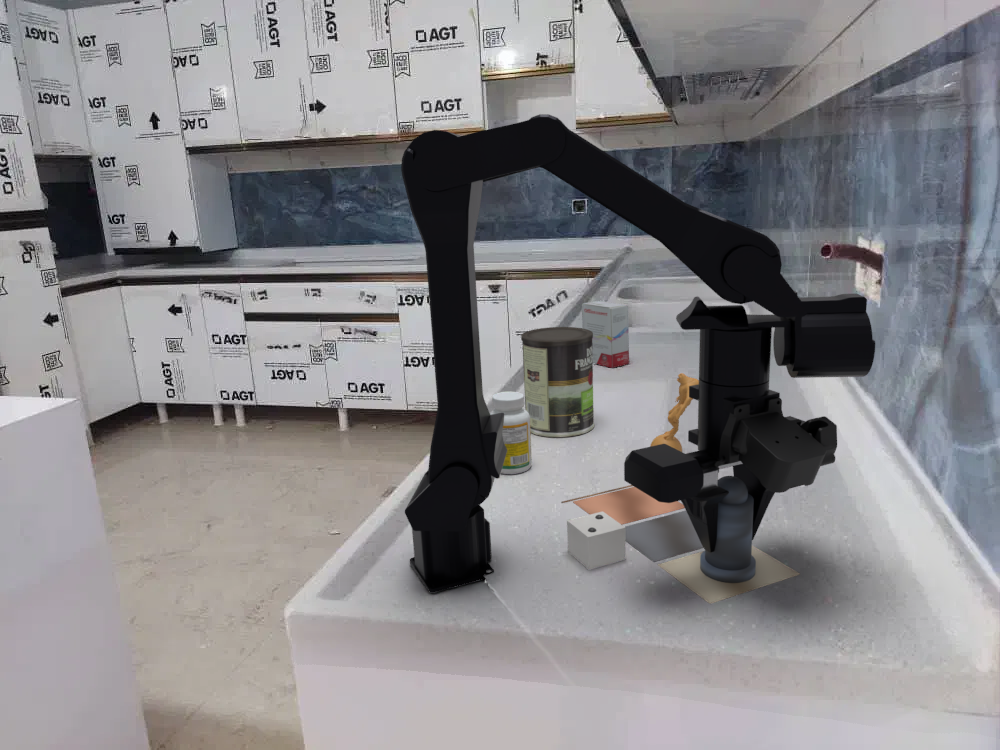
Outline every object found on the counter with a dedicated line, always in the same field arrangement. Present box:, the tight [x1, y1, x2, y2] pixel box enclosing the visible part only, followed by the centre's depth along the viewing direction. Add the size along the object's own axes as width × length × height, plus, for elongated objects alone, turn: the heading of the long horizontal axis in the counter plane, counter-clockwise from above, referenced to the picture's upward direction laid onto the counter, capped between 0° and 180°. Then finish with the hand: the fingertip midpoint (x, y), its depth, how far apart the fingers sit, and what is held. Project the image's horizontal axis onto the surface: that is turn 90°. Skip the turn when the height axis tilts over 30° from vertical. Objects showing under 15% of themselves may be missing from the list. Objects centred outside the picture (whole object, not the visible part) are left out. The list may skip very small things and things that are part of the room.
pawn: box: [700, 475, 756, 583], centre depth 66 cm, size 5×5×9 cm
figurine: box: [649, 372, 699, 452], centre depth 92 cm, size 8×6×12 cm
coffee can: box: [520, 326, 595, 438], centre depth 109 cm, size 10×10×14 cm
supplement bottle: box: [489, 391, 533, 475], centre depth 95 cm, size 5×5×10 cm
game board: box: [561, 484, 801, 605], centre depth 75 cm, size 12×25×1 cm, turn 24°
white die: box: [566, 511, 627, 571], centre depth 71 cm, size 4×4×4 cm
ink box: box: [581, 300, 630, 369], centre depth 145 cm, size 9×5×12 cm, turn 34°
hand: (728, 545), depth 67 cm, fingers closed on pawn, 4 cm apart
